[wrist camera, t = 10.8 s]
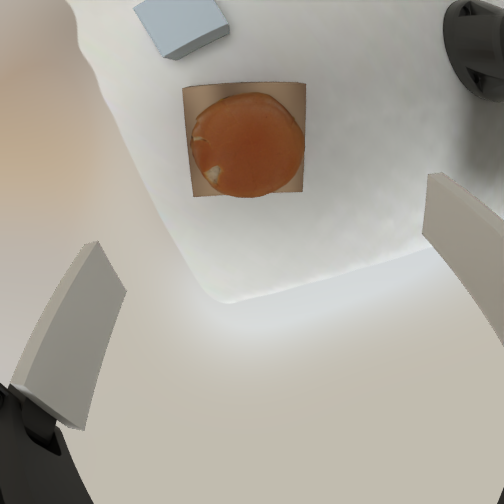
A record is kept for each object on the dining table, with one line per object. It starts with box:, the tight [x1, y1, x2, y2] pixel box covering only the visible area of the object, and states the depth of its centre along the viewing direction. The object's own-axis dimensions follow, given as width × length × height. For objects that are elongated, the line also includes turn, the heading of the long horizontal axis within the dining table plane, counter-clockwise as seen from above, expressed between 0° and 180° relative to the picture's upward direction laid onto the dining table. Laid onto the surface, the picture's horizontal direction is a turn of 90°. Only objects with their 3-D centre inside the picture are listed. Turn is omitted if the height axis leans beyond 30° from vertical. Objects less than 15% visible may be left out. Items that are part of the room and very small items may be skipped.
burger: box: [190, 92, 305, 198], centre depth 23 cm, size 10×9×5 cm
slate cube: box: [133, 0, 230, 60], centre depth 19 cm, size 6×6×6 cm
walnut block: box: [182, 82, 306, 197], centre depth 27 cm, size 11×11×4 cm
